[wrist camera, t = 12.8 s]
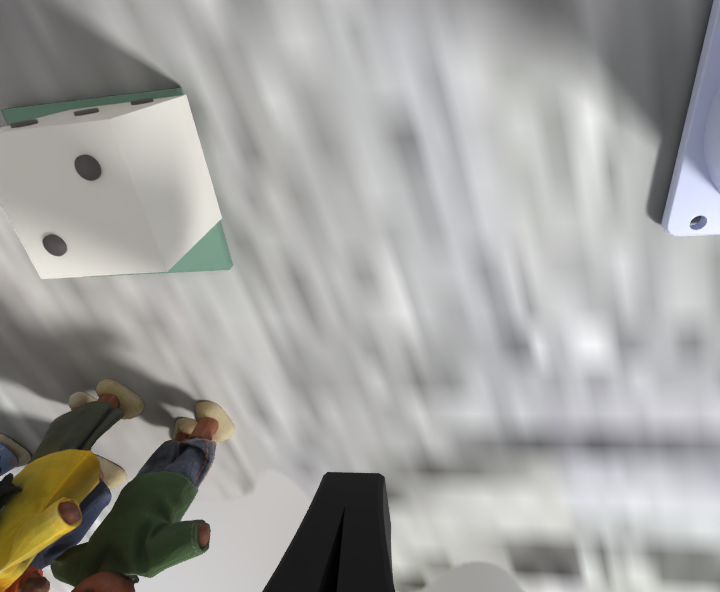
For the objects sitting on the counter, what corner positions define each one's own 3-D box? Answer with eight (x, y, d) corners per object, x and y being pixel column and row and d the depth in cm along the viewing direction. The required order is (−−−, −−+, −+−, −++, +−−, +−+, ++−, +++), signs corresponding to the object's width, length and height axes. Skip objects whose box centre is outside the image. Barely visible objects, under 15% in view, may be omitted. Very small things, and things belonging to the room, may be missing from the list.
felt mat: (181, 87, 16) (176, 88, 16) (232, 265, 19) (229, 269, 19) (9, 108, 17) (1, 110, 17) (87, 272, 21) (81, 277, 20)
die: (185, 91, 16) (105, 115, 12) (222, 218, 18) (166, 273, 14) (67, 106, 16) (-45, 134, 12) (117, 226, 19) (36, 280, 15)
